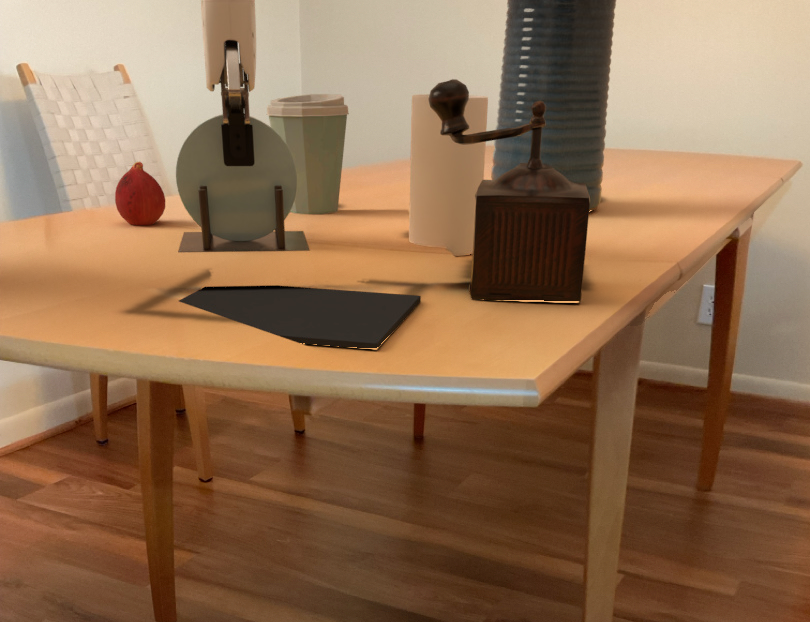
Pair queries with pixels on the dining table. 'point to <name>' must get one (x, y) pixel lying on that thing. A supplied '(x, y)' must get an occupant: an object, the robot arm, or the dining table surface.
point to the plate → (236, 181)
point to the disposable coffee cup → (313, 146)
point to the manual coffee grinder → (520, 215)
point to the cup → (444, 177)
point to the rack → (270, 242)
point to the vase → (557, 86)
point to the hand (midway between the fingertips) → (239, 161)
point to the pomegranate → (139, 197)
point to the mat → (310, 312)
